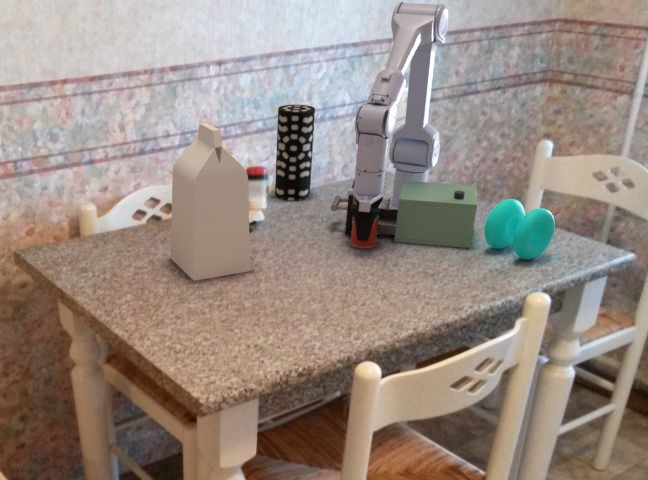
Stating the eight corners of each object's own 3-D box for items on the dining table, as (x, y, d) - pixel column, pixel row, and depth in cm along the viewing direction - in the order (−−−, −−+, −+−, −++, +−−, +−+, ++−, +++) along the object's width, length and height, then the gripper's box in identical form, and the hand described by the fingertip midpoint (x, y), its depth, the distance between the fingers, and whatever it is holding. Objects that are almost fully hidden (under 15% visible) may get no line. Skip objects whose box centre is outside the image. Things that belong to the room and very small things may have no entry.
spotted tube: (273, 199, 191) (276, 111, 181) (276, 189, 198) (279, 104, 188) (308, 201, 190) (314, 113, 180) (310, 190, 197) (316, 105, 187)
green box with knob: (397, 221, 178) (403, 174, 173) (469, 227, 174) (477, 180, 169) (394, 241, 167) (399, 193, 162) (469, 248, 164) (478, 198, 158)
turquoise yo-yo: (510, 240, 167) (519, 193, 162) (551, 255, 160) (562, 206, 155) (477, 250, 163) (485, 201, 157) (518, 266, 155) (528, 215, 150)
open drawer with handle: (334, 213, 181) (337, 176, 176) (420, 220, 176) (425, 182, 172) (327, 233, 170) (330, 194, 165) (417, 241, 166) (423, 201, 161)
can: (351, 238, 168) (354, 210, 165) (376, 240, 167) (379, 212, 164) (349, 247, 164) (351, 218, 161) (374, 249, 163) (377, 220, 160)
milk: (170, 258, 159) (166, 122, 146) (224, 249, 163) (225, 116, 150) (193, 280, 150) (192, 137, 137) (250, 271, 154) (253, 130, 140)
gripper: (353, 157, 165) (348, 222, 172) (345, 177, 153) (339, 246, 160) (389, 159, 163) (382, 224, 170) (383, 180, 151) (376, 249, 158)
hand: (364, 235), depth 165 cm, fingers closed on can, 5 cm apart
